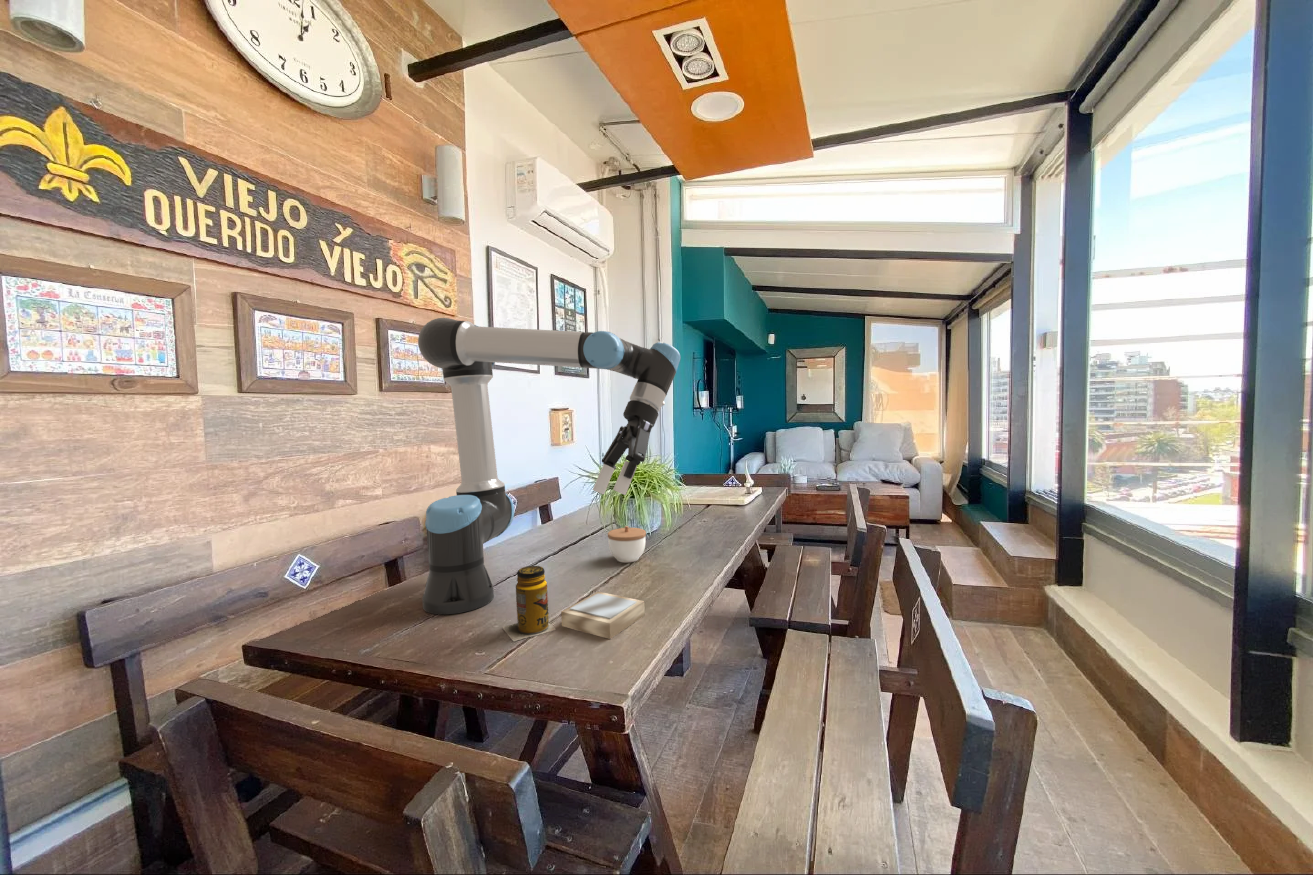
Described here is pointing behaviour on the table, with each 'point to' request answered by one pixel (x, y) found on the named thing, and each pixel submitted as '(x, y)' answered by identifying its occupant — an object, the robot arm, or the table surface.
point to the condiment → (530, 604)
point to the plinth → (603, 614)
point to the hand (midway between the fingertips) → (608, 492)
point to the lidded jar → (627, 543)
